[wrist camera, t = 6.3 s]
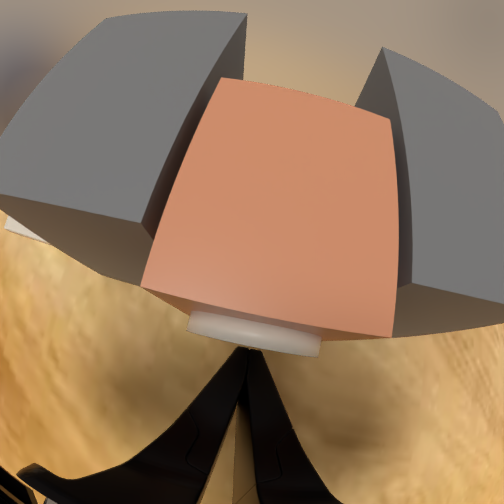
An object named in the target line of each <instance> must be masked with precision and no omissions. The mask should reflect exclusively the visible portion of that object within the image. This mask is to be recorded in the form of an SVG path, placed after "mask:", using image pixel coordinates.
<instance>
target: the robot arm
mask: <svg viewBox="0 0 504 504" xmlns="http://www.w3.org/2000/svg"><path fill="white" fill-rule="evenodd" d="M237 402H238V404H237ZM236 406H237V417H236V436H235V456H234V476H233V497H232V504H343V503H341V502H340V501H339V500H337V499H336V498H335V497H334V496H333V495H332V494H331V493H330V491H329V490H328V489H327V487H326V486H325V484H324V483H323V481H322V480H321V478H320V476H319V475H318V473H317V472H316V470H315V469H314V467H313V465H312V464H311V462H310V461H309V459H308V457H307V455H306V454H305V452H304V450H303V448H302V446H301V444H300V442H299V440H298V438H297V435H296V433H295V431H294V429H292V428H293V426H292V424H291V422H290V419H289V417H288V414H287V412H286V410H285V407H284V405H283V403H282V400H281V398H280V395H279V393H278V390H277V388H276V386H275V383H274V381H273V378H272V376H271V373H270V371H269V368H268V366H267V363H266V361H265V358H264V356H263V354H262V352H261V351H260V350H255V349H250V350H249V349H248V348H245V347H241V346H238V347H237V348H236V349H235V350H234V351H233V353H232V354H231V355H230V356H229V358H228V359H227V360H226V361H225V363H224V364H223V365H222V366H221V368H220V369H219V370H218V371H217V373H216V374H215V375H214V376H213V377H212V379H211V380H210V381H209V382H208V384H207V385H206V386H205V387H204V388H203V390H202V391H201V392H200V393H199V394H198V396H197V397H196V398H195V399H194V400H193V402H192V403H191V404H190V405H189V406H188V408H187V409H186V410H185V411H184V412H183V413H182V414H181V416H180V417H179V418H178V419H177V420H176V421H175V422H174V423H173V424H172V425H171V426H170V427H169V428H168V429H167V430H166V431H165V432H164V433H162V434H161V435H160V436H159V437H158V438H157V439H155V440H154V441H153V442H152V443H150V444H149V445H148V446H147V447H145V448H144V449H143V450H142V451H140V452H139V453H138V454H137V455H135V456H134V457H133V458H131V459H130V460H128V461H126V462H125V463H123V464H121V465H118V466H116V467H113V468H110V469H107V470H104V471H101V472H98V473H95V474H92V475H89V476H85V477H82V478H78V479H64V478H61V477H58V476H56V475H55V474H53V473H52V472H50V471H48V470H47V469H45V468H43V467H42V466H40V465H38V464H36V463H33V464H31V465H29V466H27V467H25V468H23V469H21V470H20V471H19V472H18V473H17V474H16V475H17V476H18V477H19V478H20V479H21V480H23V481H24V482H25V483H27V484H28V485H29V486H31V487H32V488H34V489H35V490H36V491H38V492H39V493H41V494H42V495H44V496H46V499H45V501H44V504H200V503H201V500H202V498H203V495H204V493H205V490H206V488H207V485H208V482H209V480H210V477H211V475H212V472H213V469H214V467H215V464H216V461H217V459H218V456H219V453H220V451H221V448H222V445H223V442H224V440H225V437H226V434H227V431H228V429H229V426H230V423H231V420H232V417H233V415H234V412H235V409H236ZM0 504H38V503H37V500H36V498H35V495H34V493H33V490H31V489H30V488H29V487H27V486H26V485H24V484H23V483H22V482H20V481H19V480H18V479H16V478H15V477H14V476H13V475H11V474H10V473H9V472H8V471H6V470H5V469H4V468H3V467H2V466H0Z"/></svg>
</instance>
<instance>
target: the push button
mask: <svg viewBox="0 0 504 504" xmlns="http://www.w3.org/2000/svg"><path fill="white" fill-rule="evenodd" d="M398 250H399V217H398V191H397V176H396V164H395V154H394V145H393V137H392V129H391V123H390V119H388V118H385V117H382V116H380V115H377V114H374V113H372V112H369V111H366V110H363V109H360V108H357V107H354V106H351V105H348V104H344V103H341V102H338V101H334V100H331V99H328V98H324V97H320V96H317V95H313V94H309V93H305V92H301V91H296V90H292V89H288V88H283V87H278V86H273V85H268V84H263V83H257V82H251V81H244V80H238V79H230V78H222V77H221V79H220V81H219V83H218V85H217V87H216V89H215V91H214V93H213V95H212V97H211V99H210V101H209V103H208V105H207V107H206V110H205V112H204V114H203V116H202V118H201V120H200V123H199V125H198V127H197V129H196V131H195V134H194V136H193V138H192V141H191V143H190V145H189V148H188V150H187V152H186V155H185V157H184V160H183V162H182V165H181V167H180V170H179V172H178V175H177V177H176V180H175V182H174V185H173V187H172V190H171V193H170V195H169V198H168V201H167V204H166V206H165V209H164V212H163V215H162V218H161V221H160V224H159V227H158V229H157V232H156V236H155V239H154V242H153V245H152V248H151V251H150V254H149V258H148V261H147V264H146V267H145V271H144V274H143V278H142V281H141V285H140V287H142V288H143V289H145V290H147V291H148V292H150V293H152V294H153V295H155V296H157V297H158V298H160V299H162V300H163V301H165V302H167V303H168V304H170V305H172V306H174V307H175V308H177V309H179V310H180V311H182V312H184V313H186V314H188V315H189V316H190V317H189V322H188V326H187V330H186V331H188V332H192V333H195V334H199V335H203V336H207V337H211V338H215V339H219V340H223V341H228V342H232V343H236V344H241V345H246V346H251V347H256V348H261V349H266V350H271V351H277V352H283V353H289V354H295V355H302V356H309V357H317V358H318V356H319V350H320V345H321V341H337V340H362V339H379V338H392V331H393V323H394V314H395V303H396V291H397V276H398Z"/></svg>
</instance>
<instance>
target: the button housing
mask: <svg viewBox="0 0 504 504" xmlns="http://www.w3.org/2000/svg"><path fill="white" fill-rule="evenodd" d="M246 26H247V14H246V13H236V12H221V11H165V12H151V13H140V14H131V15H124V16H117V17H111V18H106V19H105V20H103V21H102V22H101V23H100V24H98V25H97V26H96V27H95V28H94V29H93V30H91V31H90V32H89V33H88V34H87V35H86V36H85V37H84V38H82V39H81V40H80V41H79V42H78V43H77V44H76V45H75V46H74V47H73V48H72V49H71V50H70V51H69V52H68V53H67V54H66V55H65V56H64V57H63V58H62V59H61V60H60V61H59V62H58V63H57V64H56V65H55V66H54V67H53V68H52V70H51V71H50V72H49V73H48V74H47V75H46V76H45V78H44V79H43V80H42V81H41V82H40V83H39V84H38V86H37V87H36V88H35V90H34V91H33V92H32V93H31V94H30V96H29V97H28V98H27V100H26V101H25V102H24V103H23V105H22V106H21V108H20V109H19V110H18V112H17V113H16V114H15V116H14V118H13V119H12V120H11V122H10V123H9V125H8V126H7V128H6V129H5V131H4V132H3V134H2V136H1V137H0V209H1V210H2V211H3V212H5V213H6V214H7V215H9V216H10V217H11V218H13V219H14V220H16V221H17V222H18V223H20V224H21V225H23V226H24V227H26V228H27V229H29V230H30V231H31V232H33V233H34V234H36V235H37V236H39V237H40V238H42V239H43V240H45V241H47V242H48V243H50V244H51V245H53V246H54V247H56V248H57V249H59V250H61V251H62V252H64V253H65V254H67V255H69V256H70V257H72V258H74V259H75V260H77V261H79V262H80V263H82V264H84V265H85V266H87V267H89V268H90V269H92V270H94V271H96V272H97V273H99V274H101V275H103V276H107V277H110V278H113V279H117V280H120V281H124V282H127V283H130V284H134V285H137V286H140V285H141V281H142V278H143V274H144V271H145V267H146V264H147V261H148V258H149V254H150V251H151V248H152V245H153V242H154V239H155V236H156V232H157V229H158V227H159V224H160V221H161V218H162V215H163V212H164V209H165V206H166V204H167V201H168V198H169V195H170V193H171V190H172V187H173V185H174V182H175V180H176V177H177V175H178V172H179V170H180V167H181V165H182V162H183V160H184V157H185V155H186V152H187V150H188V148H189V145H190V143H191V141H192V138H193V136H194V134H195V131H196V129H197V127H198V125H199V123H200V120H201V118H202V116H203V114H204V112H205V110H206V107H207V105H208V103H209V101H210V99H211V97H212V95H213V93H214V91H215V89H216V87H217V85H218V83H219V81H220V79H221V77H222V78H230V79H238V80H243V73H244V56H245V41H246ZM354 107H357V108H360V109H363V110H366V111H369V112H372V113H374V114H377V115H380V116H382V117H385V118H388V119H390V123H391V129H392V137H393V145H394V154H395V164H396V176H397V191H398V217H399V250H398V276H397V291H396V303H395V314H394V323H393V331H392V338H397V337H409V336H419V335H428V334H437V333H445V332H453V331H460V330H466V329H473V328H479V327H485V326H490V325H496V324H501V323H504V124H503V122H502V120H501V118H500V116H499V114H498V112H497V111H496V110H495V109H494V108H492V107H491V106H489V105H488V104H487V103H485V102H484V101H482V100H481V99H479V98H478V97H477V96H475V95H473V94H472V93H471V92H469V91H468V90H466V89H464V88H463V87H461V86H460V85H458V84H456V83H454V82H453V81H451V80H449V79H448V78H446V77H444V76H442V75H441V74H439V73H437V72H435V71H433V70H432V69H430V68H428V67H426V66H424V65H421V64H420V63H418V62H416V61H413V60H411V59H409V58H407V57H405V56H403V55H400V54H398V53H396V52H393V51H391V50H389V49H386V48H384V47H382V49H381V51H380V53H379V55H378V57H377V59H376V62H375V64H374V66H373V68H372V70H371V73H370V75H369V77H368V79H367V81H366V83H365V85H364V88H363V90H362V92H361V94H360V96H359V98H358V100H357V102H356V105H355V106H354Z"/></svg>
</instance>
